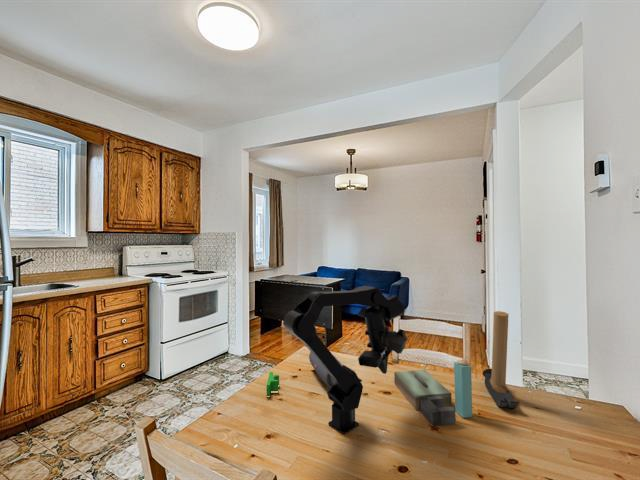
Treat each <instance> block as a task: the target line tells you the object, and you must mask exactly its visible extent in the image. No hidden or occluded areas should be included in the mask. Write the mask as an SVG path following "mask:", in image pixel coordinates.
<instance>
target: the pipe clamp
mask: <svg viewBox="0 0 640 480" xmlns="http://www.w3.org/2000/svg"><path fill="white" fill-rule="evenodd" d="M278 385H279V386H280V374H274V372H273V371H269V374H268V377H267V382H266V397H267V396H270V397H271V395H270V393H271V391H278V392H279V387H278Z"/></svg>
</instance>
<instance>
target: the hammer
mask: <svg viewBox="0 0 640 480" xmlns="http://www.w3.org/2000/svg"><path fill="white" fill-rule="evenodd" d="M509 315H510V314H509V313H508V312H505V311H500V310H499V311H498V310H495V311H494V312H493V319H492V321H493V322H492V323H493V327H492V328H493V329H492V347H491V350H492V352H491V354H492V355H491V368H486V369H484V370H483V371H482V375H483V377H484V385H485V387H486V389H487V392H488V393H489V395H490V397H491V398H492V400H493V402H494V403H495V405H496V406H497V407H502V408H510V409H517V407H518V406H519V404H520V401H515V399H514V398H513V395H512V394H511V392H510V390H509V389H508V387H507V384H506V382H507V381H506V380H507V359H508V358H507V357H508V355H507V354H508V336H509V335H508V334H509V333H508V331H509Z"/></svg>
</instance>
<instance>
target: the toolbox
mask: <svg viewBox="0 0 640 480" xmlns="http://www.w3.org/2000/svg"><path fill="white" fill-rule="evenodd" d="M394 385H395V387H396V388H397V389H398V390H399V392H400V393H401V394H402V395H403V397H404V398H406V400H407V401H408V403H409V404H410V405H411V406H412V407H413V409H414V410H415V411H419V412H420V413H421V414H422V416H423V417H424V418H425V419H426V420H427V422H429V424H430V425H431V426H432V427H442V426H452V425H456V424H457V423H456V417H457V416H456V411H455V409H454V407H453V406H452V392H451V391H450V390H449V389H448V388H446V387H445V385H443V384H442V383H441V382H439V381H438V380H437V379H436V378H435V377H434V376H432V375H431V374H430V373H429V372H428V371H427V370H426V369H423V370H421V369H419V370H406V371H405V370H404V371H403V370H402V371H395V372H394Z"/></svg>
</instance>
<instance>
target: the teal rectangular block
mask: <svg viewBox="0 0 640 480" xmlns="http://www.w3.org/2000/svg"><path fill="white" fill-rule="evenodd" d="M468 363H469V362H468V361H467V360H464V359H458V360H457V361H454V362H453V365H454V368H453V369H454V406H455V407H454V408H455V409H454V410H455V413H457V414H458V415H459V416H460V417H461V418H463V419H465V418H473V394H472V393H473V392H472V391H473V389H472V388H473V387H472V386H473V385H472V384H473V383H472V365H469V364H468Z"/></svg>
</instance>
